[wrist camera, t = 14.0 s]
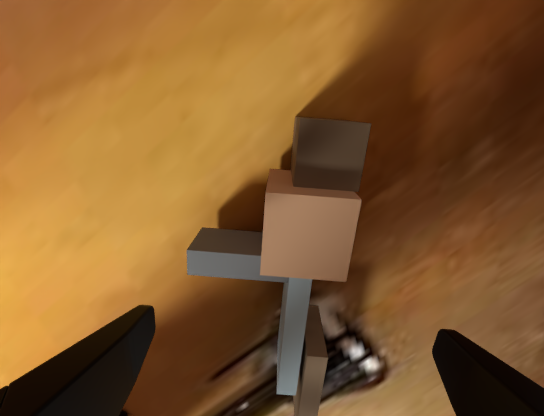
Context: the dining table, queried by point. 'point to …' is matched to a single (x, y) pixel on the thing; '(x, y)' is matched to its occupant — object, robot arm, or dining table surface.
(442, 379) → the robot arm
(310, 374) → the grey-brown blocks
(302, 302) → the grey l-shaped bracket
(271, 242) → the tan rectangular block
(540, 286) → the dining table surface
